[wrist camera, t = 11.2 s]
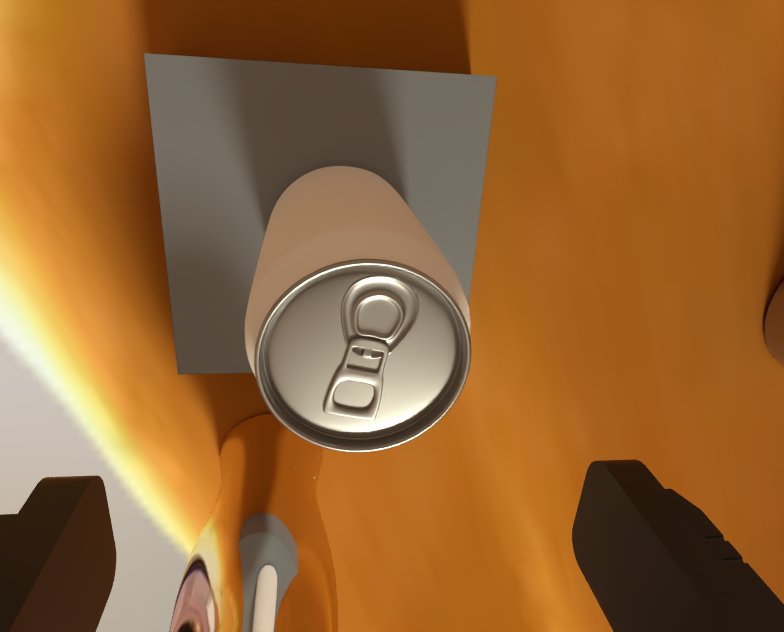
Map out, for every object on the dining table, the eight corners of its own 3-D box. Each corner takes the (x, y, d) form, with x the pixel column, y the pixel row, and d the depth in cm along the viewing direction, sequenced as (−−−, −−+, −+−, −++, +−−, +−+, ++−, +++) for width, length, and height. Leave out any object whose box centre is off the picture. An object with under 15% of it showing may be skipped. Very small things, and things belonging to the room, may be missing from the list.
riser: (471, 75, 27) (496, 76, 23) (443, 336, 33) (460, 369, 29) (167, 55, 25) (143, 53, 21) (193, 337, 30) (178, 374, 27)
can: (429, 184, 25) (524, 275, 14) (389, 314, 27) (443, 480, 16) (284, 145, 23) (263, 212, 12) (255, 286, 26) (216, 447, 15)
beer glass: (297, 512, 36) (291, 777, 23) (194, 477, 34) (120, 747, 21) (349, 431, 34) (376, 669, 21) (243, 389, 32) (196, 624, 19)
